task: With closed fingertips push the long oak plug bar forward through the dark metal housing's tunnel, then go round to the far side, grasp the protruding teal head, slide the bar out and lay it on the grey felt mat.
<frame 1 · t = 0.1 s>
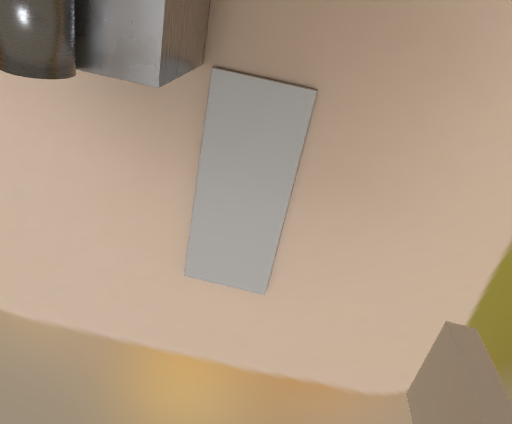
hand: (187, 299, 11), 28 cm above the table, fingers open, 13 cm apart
housing: (130, 9, 34), on the table
mat: (242, 193, 40), on the table
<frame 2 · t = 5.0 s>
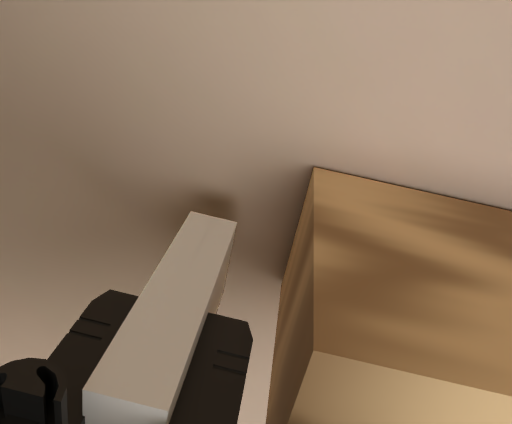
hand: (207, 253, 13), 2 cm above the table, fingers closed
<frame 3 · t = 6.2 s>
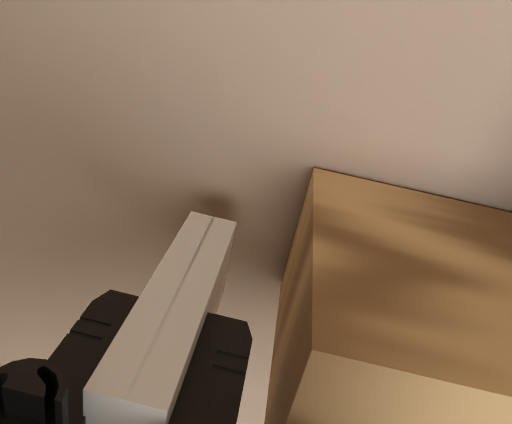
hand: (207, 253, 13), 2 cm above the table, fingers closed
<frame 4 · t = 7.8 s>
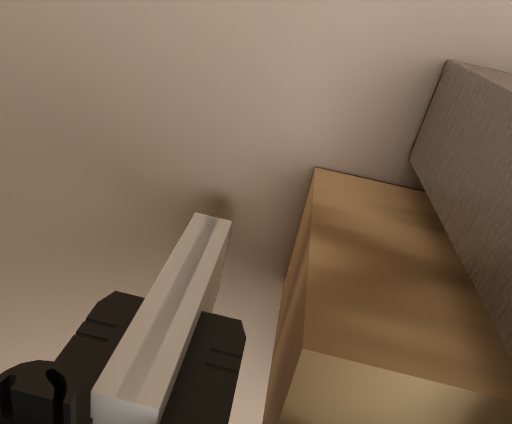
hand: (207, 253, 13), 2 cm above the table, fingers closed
housing: (457, 270, 14), on the table
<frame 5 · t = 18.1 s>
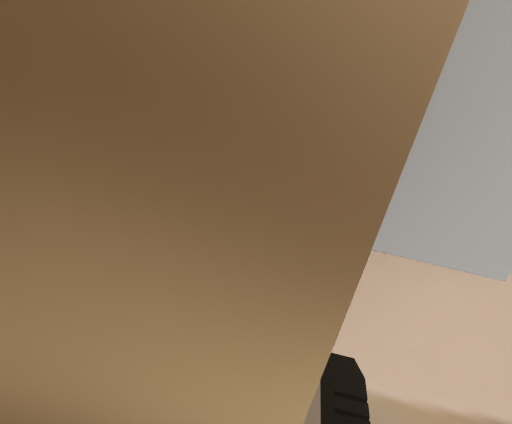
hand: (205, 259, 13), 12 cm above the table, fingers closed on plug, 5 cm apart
plug: (238, 84, 11), point 12 cm above the table, touching gripper
when the fingers open (2 cm above the table, at t = 21.5 s): plug stays where it is, resting on mat.
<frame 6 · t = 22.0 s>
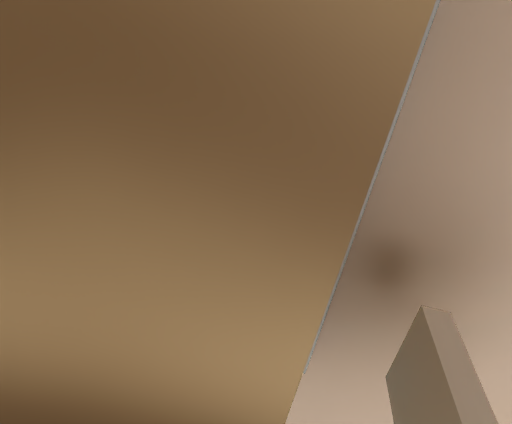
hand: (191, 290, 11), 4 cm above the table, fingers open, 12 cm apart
mat: (248, 66, 12), on the table
plug: (243, 82, 12), point 1 cm above the table, touching mat
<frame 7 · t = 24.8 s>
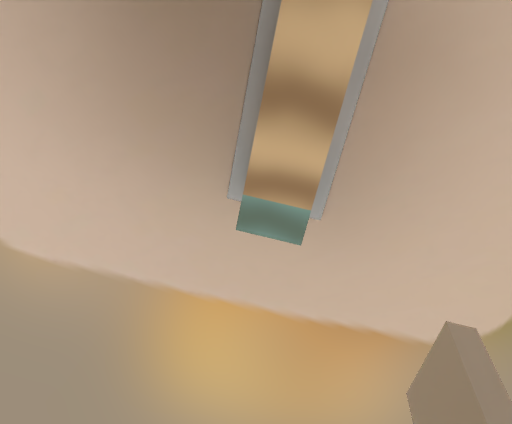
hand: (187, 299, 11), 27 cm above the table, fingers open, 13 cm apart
mat: (302, 90, 34), on the table
plug: (301, 96, 34), point 1 cm above the table, touching mat
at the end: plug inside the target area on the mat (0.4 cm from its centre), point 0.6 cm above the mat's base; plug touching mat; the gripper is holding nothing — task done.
